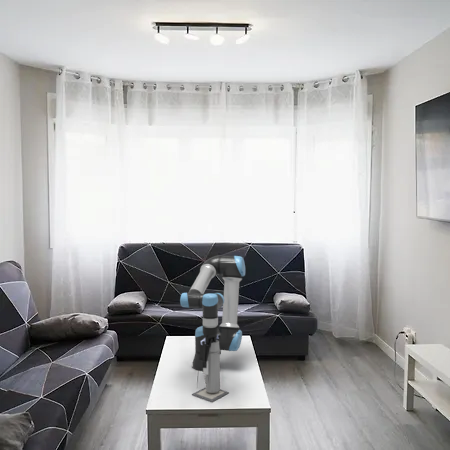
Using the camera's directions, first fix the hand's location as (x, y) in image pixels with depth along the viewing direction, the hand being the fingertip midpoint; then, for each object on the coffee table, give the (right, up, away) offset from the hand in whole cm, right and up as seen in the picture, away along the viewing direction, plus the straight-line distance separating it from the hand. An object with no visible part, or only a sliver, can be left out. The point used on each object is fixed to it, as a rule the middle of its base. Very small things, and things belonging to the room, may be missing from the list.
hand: (210, 371), depth 223 cm
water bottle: (0, -10, +1) cm, 10 cm away
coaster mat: (0, -11, +1) cm, 11 cm away
